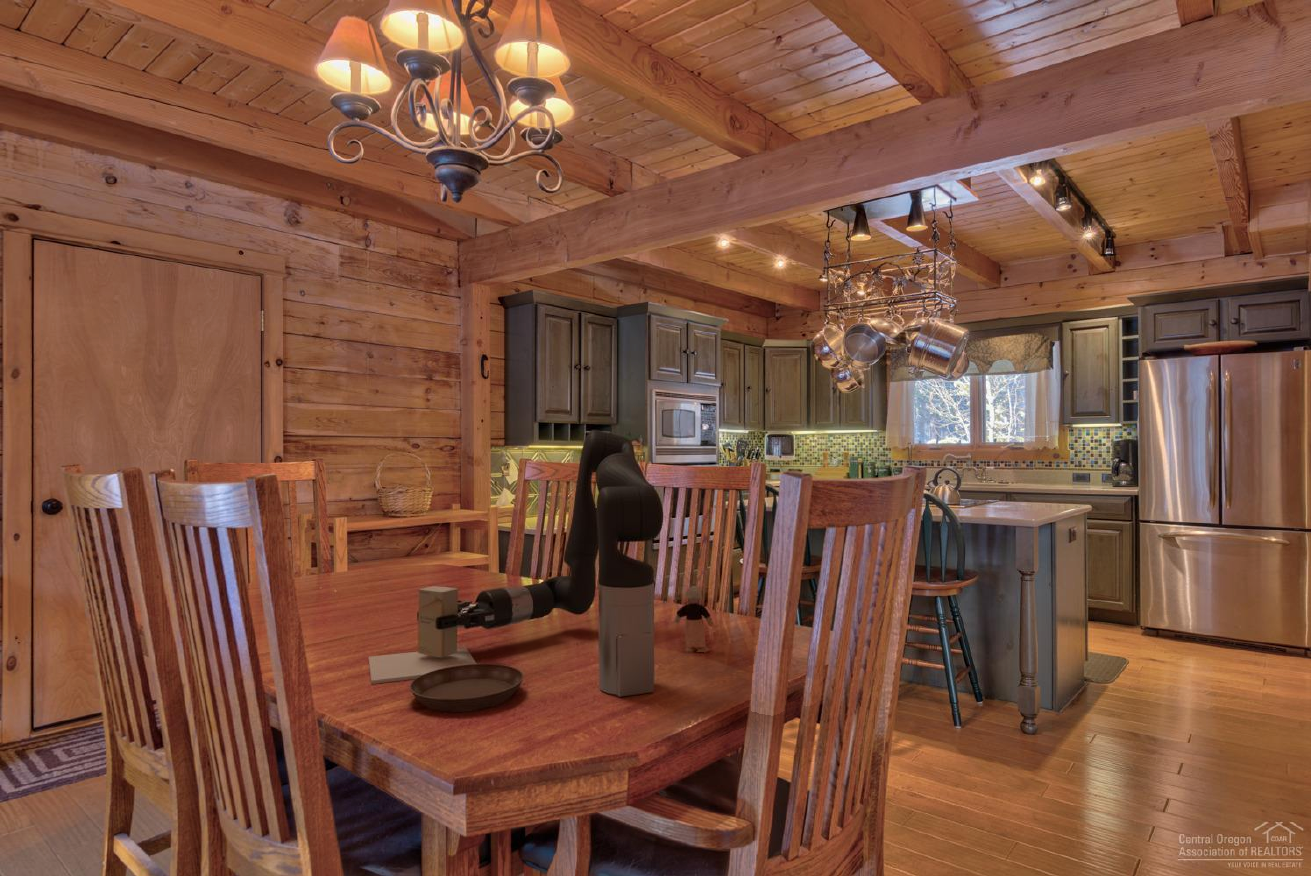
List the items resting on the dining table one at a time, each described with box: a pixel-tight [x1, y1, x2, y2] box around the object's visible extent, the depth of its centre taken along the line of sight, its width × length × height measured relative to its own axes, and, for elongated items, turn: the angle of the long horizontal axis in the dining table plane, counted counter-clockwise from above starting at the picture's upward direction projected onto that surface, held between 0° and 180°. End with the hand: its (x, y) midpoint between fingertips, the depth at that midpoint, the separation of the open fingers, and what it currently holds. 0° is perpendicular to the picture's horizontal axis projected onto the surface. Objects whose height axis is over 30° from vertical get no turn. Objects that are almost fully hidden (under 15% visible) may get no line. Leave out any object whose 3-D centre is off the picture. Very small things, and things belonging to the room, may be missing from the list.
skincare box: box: [417, 585, 459, 657], centre depth 141 cm, size 6×4×12 cm
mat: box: [368, 646, 477, 685], centre depth 138 cm, size 16×18×1 cm
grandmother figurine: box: [674, 585, 714, 653], centre depth 147 cm, size 8×4×13 cm, turn 84°
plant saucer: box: [409, 663, 524, 713], centre depth 120 cm, size 18×18×3 cm
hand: (427, 620), depth 139 cm, fingers closed on skincare box, 7 cm apart
